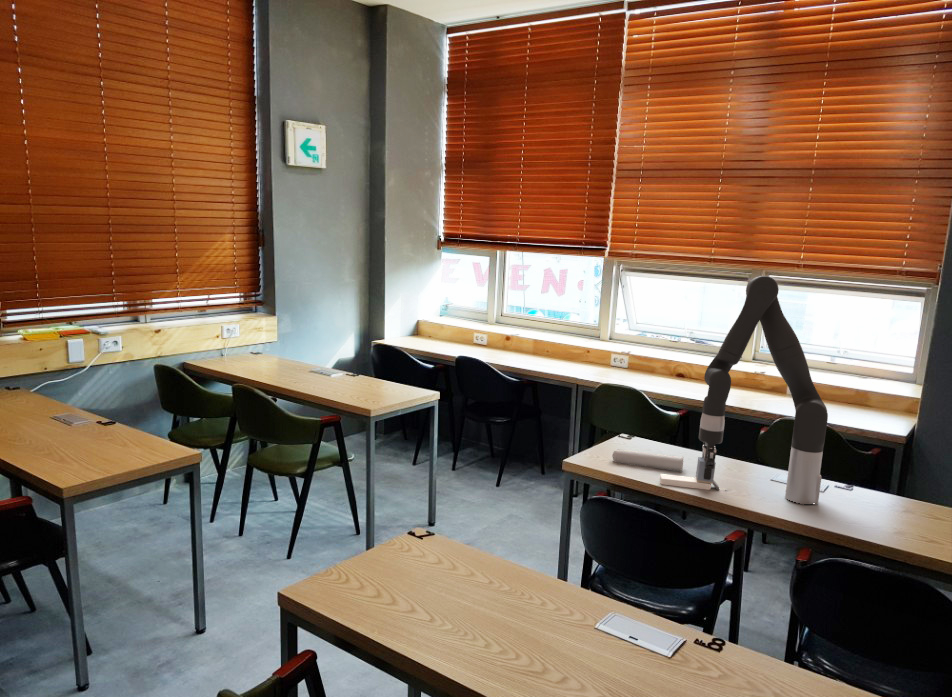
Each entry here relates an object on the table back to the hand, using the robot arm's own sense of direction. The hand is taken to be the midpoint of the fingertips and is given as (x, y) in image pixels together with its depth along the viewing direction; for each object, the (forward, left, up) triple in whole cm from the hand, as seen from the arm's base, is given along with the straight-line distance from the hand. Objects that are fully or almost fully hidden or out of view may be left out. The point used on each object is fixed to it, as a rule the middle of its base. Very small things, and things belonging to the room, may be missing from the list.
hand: (706, 476), depth 238 cm
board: (+7, 0, -4) cm, 7 cm away
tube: (+19, -17, -4) cm, 25 cm away
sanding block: (0, 0, -1) cm, 1 cm away
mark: (-3, 0, -3) cm, 4 cm away
